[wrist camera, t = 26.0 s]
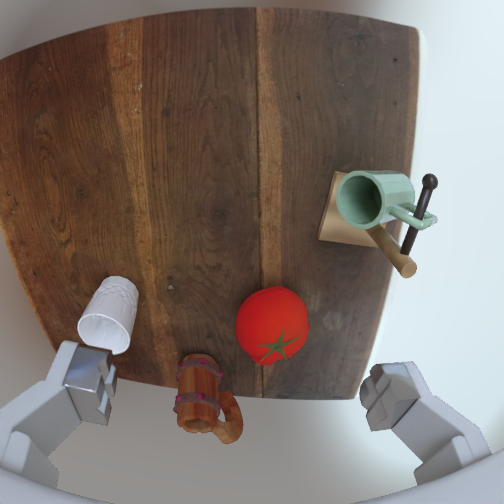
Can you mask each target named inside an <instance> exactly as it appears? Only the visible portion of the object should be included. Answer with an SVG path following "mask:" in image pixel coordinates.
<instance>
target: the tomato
mask: <svg viewBox="0 0 504 504" xmlns="http://www.w3.org/2000/svg"><path fill="white" fill-rule="evenodd" d="M235 330H236V337H237V339H238V342H239V344H240V345H241V347H242V349H243V350H244V351H246V352H247V353H248V354H249V355H250V357H251V358H252V359H253V360H254V361H255V362H257V363H258V364H259V365H271V364H273V363H274V362H276V361H277V360H279V359H285V360H287V358H289V357H291V356H292V355H294V354H295V353H296V352H297V351H298V350H299V349H300V348H301V346H302V345H303V344H304V343H305V341H306V340H307V337H308V331H309V322H308V313H307V308H306V305H305V304H304V302H303V301H302V300H301V299H300V298H299V297H298V296H297V295H296V294H295V293H294V292H293V291H291V290H289V289H287V288H284V287H281V286H274V287H269V288H266V289H263V290H260V291H257V292H255V293H254V294H252V295H251V296H249V297H248V298H247V299H246V300H245V301H244V302H243V303H242V305H241V306H240V308H239V310H238V313H237V317H236V321H235Z"/></svg>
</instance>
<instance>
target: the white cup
mask: <svg viewBox="0 0 504 504" xmlns="http://www.w3.org/2000/svg"><path fill="white" fill-rule="evenodd" d="M138 301H139V292H138V290H137V288H136V286H135V285H134V284H133V283H132V282H131V281H130V280H128V279H126V278H123V277H121V276H110V277H108V278H106V279H104V280H103V282H102V284H101V285H100V287H99V288H98V290H97V291H96V292H95V294H94V295H93V297H92V299H91V300H90V302H89V304H88V306H87V307H86V309H85V311H84V313H83V315H82V316H81V318H80V320H79V322H78V333H79V335H80V337H81V338H82V340H83V341H84V342H85V343H86V344H87V345H90V346H95V347H100V348H105V349H110V350H112V353H113V355H114V354H120V353H122V352H124V351H125V350H127V348H128V347H129V344H130V340H131V335H132V331H133V326H134V322H135V316H136V312H137V305H138Z"/></svg>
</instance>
